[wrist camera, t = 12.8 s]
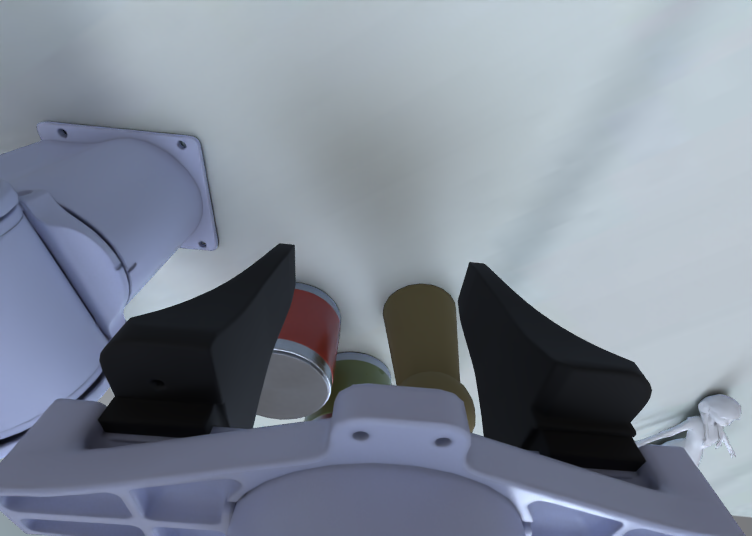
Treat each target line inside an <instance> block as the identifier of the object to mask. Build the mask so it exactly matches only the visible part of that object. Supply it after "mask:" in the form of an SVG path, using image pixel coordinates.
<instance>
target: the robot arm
mask: <svg viewBox="0 0 752 536" xmlns="http://www.w3.org/2000/svg"><path fill="white" fill-rule="evenodd" d="M63 129H64V130H65V131H66V133H67V135H66V134H64V132H63ZM37 131H38V133H39V136H40V138H41V140H42V141H39V142H36V143H33V144H30V145H28V146H25V147H22V148H19V149H16V150H13V151H10V152H7V153H4V154H1V155H0V459H2V458H4V457H5V458H4V459H3V460H2V461H1V463H0V511H1V512H2V513H3V514H4V515H5V516H7V517H8V518H9V519H10V520H11V521H12V522H13V523H14V524H15V525H17V526H18V527H19V528H20V529H21V530H22V531H23V532H24V533H26V534H36V535H48V536H746V535H745V534H744V532H743V531H742V530H741V528H740V527H739V526H738V524H737V523H736V521H735V520H734V518H733V517H732V515H731V514H730V513H729V511H728V510H727V508H726V507H725V506H724V504H723V503H722V501H721V500H720V499H719V497H718V496H717V494H716V493H715V491H714V490H713V489H712V487H711V486H710V484H709V483H708V482H707V480H706V479H705V477H704V476H703V474H702V473H701V472H700V470H699V469H698V467H697V466H696V465H695V463H694V462H693V460H692V459H691V457H690V456H689V455H688V453H687V452H686V450H685V449H684V448H682V447H678V446H666V445H653V444H649V445H643V446H640V447H637V445H636V443H635V442H634V440H633V438H632V437H634V436H635V435H636V431H635V429H634V428H633V426H632V424H631V423H630V422H631V421H632V420H633V419H634V418H635V417H636V416H637V414H638V413H639V412H640V411H641V410H642V409H643V408H644V406H645V405H646V404H647V402H648V400H649V399H650V396H651V392H652V389H651V386H650V383H649V382H648V380H647V379H646V378H645V376H644V375H643V374H642V372H641V371H640V370H639V368H638V367H637V365H636V364H635V363H634V362H632V361H630V360H628V359H625V358H623V357H620V356H618V355H616V354H613V353H611V352H608V351H606V350H604V349H602V348H599V347H597V346H595V345H593V344H591V343H589V342H587V341H585V340H583V339H581V338H580V337H578V336H576V335H574V334H572V333H571V332H569V331H567V330H566V329H564V328H562V327H560V326H559V325H557V324H556V323H554V322H553V321H551V320H550V319H548V318H547V317H545V316H544V315H543V314H541V313H540V312H538V311H537V310H536V309H534V308H533V307H532V306H531V305H529V304H528V303H527V302H526V301H525V300H523V299H522V298H521V297H520V296H519V295H518V294H516V293H515V292H514V291H513V290H512V289H511V288H510V287H509V286H508V285H507V284H506V283H504V282H503V281H502V280H501V279H500V278H499V277H498V276H497V275H496V274H495V273H494V272H493V271H492V270H491V269H490V268H489V267H487V266H486V265H485V264H483V263H473V262H469V265H468V269H467V272H466V275H465V279H464V282H463V285H462V288H461V292H460V295H459V298H458V306H459V314H460V321H461V325H462V329H463V332H464V336H465V339H466V343H467V346H468V350H469V353H470V357H471V360H472V364H473V368H474V372H475V377H476V383H477V389H478V395H479V402H480V409H481V416H482V425H483V434H484V437H483V436H480V435H477V434H474V433H471V432H470V429H469V424H468V420H467V415H466V410H465V406H464V402H463V401H462V400H461V399H460V398H459V397H458V396H457V395H456V394H454V393H451V392H448V391H444V390H440V389H431V388H419V387H407V386H395V385H383V384H371V383H366V384H354V385H352V386H350V387H348V388H346V389H344V390H342V391H340V392H339V393H338V395H337V397H336V399H335V401H334V407H333V415H332V418H327V419H319V420H312V421H304V422H297V423H289V424H282V425H274V426H267V427H259V428H253V425H254V421H255V417H256V413H257V408H258V404H259V400H260V396H261V392H262V388H263V384H264V380H265V376H266V373H267V369H268V365H269V362H270V358H271V355H272V352H273V349H274V347H275V344H276V342H277V339H278V337H279V334H280V332H281V329H282V327H283V324H284V322H285V319H286V316H287V314H288V311H289V309H290V306H291V302H292V299H293V294H294V290H295V286H296V280H295V245H291V244H281V243H279V244H278V245H277V246H275V247H274V248H273V249H272V250H270V251H269V252H268V253H267V254H266V255H264V256H263V257H262V258H261V259H259V260H258V261H257V262H255V263H254V264H253V265H252V266H250V267H249V268H247V269H246V270H244V271H243V272H242V273H240V274H239V275H237V276H236V277H234V278H233V279H231V280H229V281H228V282H226V283H224V284H222V285H220V286H219V287H217V288H215V289H213V290H211V291H209V292H206V293H204V294H202V295H200V296H197V297H195V298H193V299H191V300H188V301H185V302H183V303H180V304H177V305H174V306H171V307H168V308H165V309H162V310H159V311H155V312H151V313H148V314H144V315H140V316H136V317H132V318H130V319H129V320H128V321H127V322H126V320H125V318H124V314H123V311H124V307H125V306H126V305H127V304H128V303H129V302H130V301H131V300H132V299H133V298H134V296H135V295H136V294H137V293H138V292H139V291H140V290H141V289H142V288H143V287H144V285H145V284H146V283H147V282H148V281H149V280H150V279H151V278H152V277H153V276H154V275H155V273H156V272H157V271H158V270H159V269H160V268H161V267H162V266H163V265H164V264H165V263H166V261H167V260H168V259H169V258H170V257H171V256H172V255H173V254H174V253H175V252H176V251H177V249H178V248H187V249H199V250H210V251H212V250H215V249H216V248H217V247H218V238H217V233H216V227H215V222H214V216H213V210H212V205H211V199H210V194H209V188H208V182H207V177H206V171H205V166H204V160H203V154H202V149H201V144H200V142H199V140H198V139H197V138H195V137H193V136H187V135H177V134H167V133H157V132H147V131H137V130H128V129H118V128H108V127H98V126H88V125H78V124H68V123H58V122H48V121H44V122H40V123H38V124H37ZM180 141H183V142H184V143H185V144H186V148H185V147H183V146H182V145H181V143H180ZM201 241H203V242H205V243H206V245H204V244H202V242H201ZM109 387H111V389H112V391H113V393H114V395H115V397H114V398H113V400H112V401H111V402H110V404H109V405H108V406H106V405H104V404H102V403H100V402H97V401H98V400H99V399H100V398H101V397H102V396H103V395H104V393H105V392H106V391H107V389H108V388H109Z"/></svg>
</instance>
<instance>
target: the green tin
mask: <svg viewBox="0 0 752 536" xmlns="http://www.w3.org/2000/svg"><path fill="white" fill-rule="evenodd" d="M366 383H371V384H383V385H392V384H391V375H390V372H389V370H388V369H387V367H386V366H385V365H384V364H383V363H382V362H381V361H379V360H378V359H376V358H374V357H372V356H370V355H366V354H362V353H356V352H345V353H339V354H337V357H336V364H335V372H334V379H333V384H332V388H331V393H330V397H329V399H328V400H327V402H326V403H325V404H324V405H323V406H322V407H321V408H320V409H319V410H318V411H316V412H315V413H313V414H311V415H308V416H305V420H304V421H312V420H319V419H327V418H332V415H333V407H334V401H335V399H336V397H337V395H338V393H339V392H340V391H342V390H344V389H346V388H348V387H350V386H352V385H354V384H366Z"/></svg>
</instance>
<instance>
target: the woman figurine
mask: <svg viewBox="0 0 752 536" xmlns="http://www.w3.org/2000/svg"><path fill="white" fill-rule="evenodd" d="M698 408H699V412H700V415H701V416H693V417H687V420H685V421H683V422H682V423H680V424H679V425H677V426H674V427H672V428H670V429H667V430H665V431H662V432H659V433H658V434H655V435H653V436H650V437H648V438H645V439H643V440H638V441H634V442H635V443H636V445H637V447H640V446H643V445H646V444H647V443H650V442H652V441H655V440H658V439H661V438H666V437H670V436H673V435H676V434H678V433H680V432H682V431H686V430H687V435H686V438H679V439H674V440H671V441H667V442H665V443H663V444H662V445H666V446H678V447H682V448H684V449H685V450H686V452H687V453H688V455H689V456H690V457H691V459H692V460H693V462H694V463H695V465H696V466H697V467H699V464H700V461H701V459H702V456H703V449H704V448H706V447H709V446H711V445H712V444H714V443H717V442H718V441H719V442H718V443H717V444H716V447H715V449H717V448H719V447H720V446H721V441H723V442H724V444H725V445H726V447H727V449H728V452H729V453H730V456H731V458H733V457H732V455H734V456H735V457H736V455H735V452H734V450H733V449H732V447H731V445H730V443H729V440H728V437H727V435H726V433H725V432H724V430H723V427H724V426H730V424H731V423H732V422H733V421H734V420H740V416H741V413H742V410H741V405H740V404H739V403H738V402H737V401H736V400H735V399H733V398H731V397H729V396H726V395H723V394H716V395H712V396H707V397H706V398H704V399H703V400H702V401H701V402H700V403H699V405H698ZM719 438H720V440H719Z"/></svg>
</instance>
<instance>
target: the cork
mask: <svg viewBox="0 0 752 536" xmlns="http://www.w3.org/2000/svg"><path fill="white" fill-rule="evenodd" d="M383 317H384V322H385V327H386V333H387V338H388V343H389V348H390V353H391V359H392V364H393V369H394V374H395V379H396V385H397V386H407V387H419V388H431V389H440V390H444V391H448V392H451V393H454V394H456V395H457V396H458V397H459V398H460V399H461V400H462V401H463V402H464V406H465V410H466V415H467V420H468V424H469V429H470V432H471V433H472V432H473V429H474V427H475V408H474V404H473V400H472V398H471V396H470V395H469V393H468V391H467V390H466V388H465V387H464V385H462V384H461V383H460V373H459V355H458V338H457V321H456V307H455V302H454V301H453V299H452V297H451V295H449V294H448V293H447V292H446V291H444V290H443V289H441V288H439V287H436V286H433V285H427V284H416V285H409V286H406V287H404V288H401V289H399V290H397V291H396V292H395V293H394V294H392V295H391V296H390V297H389V298H388V300H387V302H386V303H385V305H384V310H383Z"/></svg>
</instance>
